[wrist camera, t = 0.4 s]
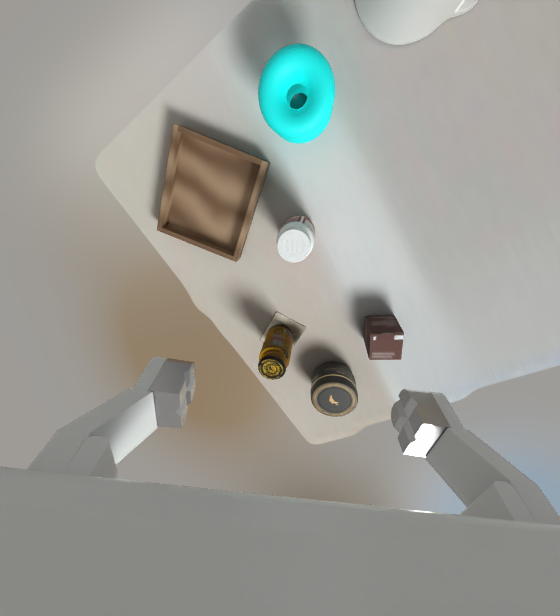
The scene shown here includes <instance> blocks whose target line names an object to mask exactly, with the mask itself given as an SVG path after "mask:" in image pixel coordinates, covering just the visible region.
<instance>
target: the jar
mask: <svg viewBox="0 0 560 616" xmlns="http://www.w3.org/2000/svg"><path fill="white" fill-rule="evenodd" d="M311 401H312V404H313V406H314V407H315V408H316V409H317V410H318V411H319V412H320V413H322V414H325V415H328V416H334V417H337V416H343V415H346V414H348V413H350V412H351V411H353V410H354V408H355V407H356V405H357V402H358V393H357V388H356V383H355V378H354V376H353V374H352V372H351V371H350V369H349V368H348V367H346V366H345V365H343V364H340V363H336V362H329V363H325V364H323V365H321V366H319V367H318V368H317V369H316V371H315V372H314V374H313V377H312V387H311Z"/></svg>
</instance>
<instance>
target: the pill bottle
mask: <svg viewBox="0 0 560 616" xmlns="http://www.w3.org/2000/svg"><path fill="white" fill-rule="evenodd" d="M314 239H315V229H314V226H313V224H312V222H311V221H310V220H309V219H308V218H306V217H304V216H294V217H291V218H290V219H288V220H287V221H286V222H285V223H284V225H283V226H282V228H281V229H280V231H279V233H278V236H277V248H278V252H279V254H280V255H281V257H282V258H283V259H285V260H286V261H289V262H299V261H302V260H303V259H305V258H306V257H307V255H308V254H309V253H310V252H311V251H312V249H313V246H314Z"/></svg>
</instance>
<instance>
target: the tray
mask: <svg viewBox="0 0 560 616" xmlns="http://www.w3.org/2000/svg"><path fill="white" fill-rule="evenodd" d="M269 164H270V163H269V162H267V161H264V160H262V159H260V158H257V157H255V156H252V155H250V154H248V153H245V152H243V151H240V150H238V149H236V148H233V147H231V146H228V145H226V144H224V143H221V142H219V141H216V140H214V139H212V138H209V137H207V136H204V135H202V134H200V133H197V132H195V131H193V130H190V129H188V128H185V127H183V126H180V125H177V124H174V125H173V131H172V137H171V144H170V150H169V156H168V163H167V169H166V175H165V182H164V188H163V194H162V201H161V207H160V213H159V220H158V226H157V230H158V231H160V232H163V233H165V234H168V235H170V236H173V237H175V238H178V239H180V240H183V241H185V242H188V243H190V244H193V245H195V246H198V247H200V248H203V249H205V250H208V251H210V252H213V253H215V254H218V255H220V256H223V257H225V258H228V259H230V260H233V261H235V262H237V261H238V260H239V258H240V257H241V254H242V251H243V247H244V244H245V241H246V238H247V235H248V231H249V228H250V225H251V222H252V219H253V215H254V212H255V209H256V206H257V203H258V199H259V196H260V193H261V190H262V187H263V183H264V180H265V177H266V174H267V171H268V167H269Z"/></svg>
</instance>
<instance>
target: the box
mask: <svg viewBox="0 0 560 616" xmlns="http://www.w3.org/2000/svg"><path fill="white" fill-rule="evenodd" d="M403 336H404V332H403V330H402V328H401V327H400V325H399V323H398V321H397V319H396V317H395V316H394V315H387V316H365V326H364V342H365V345H366V349H367V353H368V357H369V359H370V360H400V359H401V355H402V345H403Z"/></svg>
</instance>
